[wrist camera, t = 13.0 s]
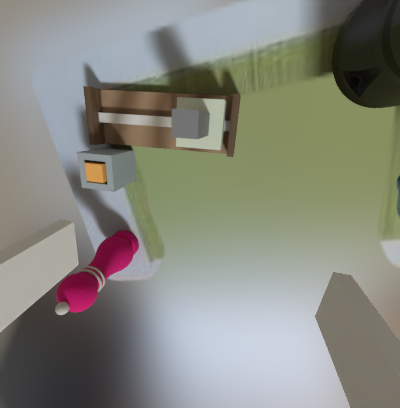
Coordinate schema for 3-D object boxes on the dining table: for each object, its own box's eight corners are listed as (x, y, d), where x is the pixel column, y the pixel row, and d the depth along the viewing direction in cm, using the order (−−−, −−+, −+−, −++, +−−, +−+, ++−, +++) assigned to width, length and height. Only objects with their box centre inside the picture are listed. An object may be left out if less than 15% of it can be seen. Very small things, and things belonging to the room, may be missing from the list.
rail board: (240, 97, 35) (240, 93, 31) (233, 153, 38) (233, 156, 34) (100, 90, 39) (83, 86, 35) (105, 142, 42) (90, 144, 38)
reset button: (120, 159, 40) (101, 164, 34) (121, 175, 41) (103, 182, 35) (105, 157, 40) (84, 162, 35) (107, 173, 41) (86, 181, 36)
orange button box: (134, 150, 41) (111, 155, 34) (135, 180, 44) (114, 191, 36) (105, 147, 42) (76, 152, 35) (108, 177, 44) (81, 187, 37)
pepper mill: (109, 226, 49) (29, 289, 30) (140, 230, 47) (76, 297, 29) (113, 253, 51) (41, 327, 33) (141, 257, 50) (84, 335, 32)
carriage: (226, 101, 33) (219, 90, 22) (221, 148, 36) (213, 158, 24) (182, 99, 34) (154, 87, 23) (180, 144, 36) (154, 153, 25)
